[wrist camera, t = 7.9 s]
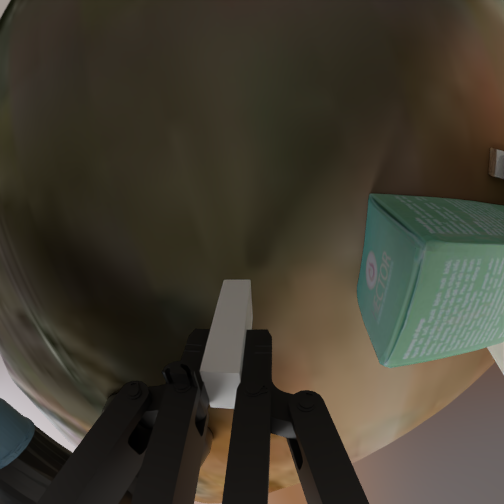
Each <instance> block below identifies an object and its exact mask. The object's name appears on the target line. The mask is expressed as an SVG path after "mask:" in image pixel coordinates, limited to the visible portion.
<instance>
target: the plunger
mask: <svg viewBox="0 0 504 504" xmlns="http://www.w3.org/2000/svg"><path fill="white" fill-rule="evenodd" d="M487 348H488V350H489V351H490V353H491V355H492V356H493V358H494V359H495V361H496V363H497V364H498V366H499V368H500V370H501V371H502V373H503V375H504V342H502V343H499V344H496V345H492V346H489V347H487Z"/></svg>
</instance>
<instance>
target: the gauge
mask: <svg viewBox="0 0 504 504" xmlns="http://www.w3.org/2000/svg"><path fill="white" fill-rule="evenodd" d="M488 174H489V175H491V176H494V177H497V178H501V179H504V151H501V150H498V149H494V148H491V147H490V160H489V171H488Z"/></svg>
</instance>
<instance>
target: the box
mask: <svg viewBox="0 0 504 504" xmlns="http://www.w3.org/2000/svg"><path fill="white" fill-rule="evenodd" d="M357 298H358V304H359V307H360V311H361V314H362V318H363V321H364V324H365V326H366V329H367V332H368V334H369V337H370V340H371V342H372V345H373V347H374V350H375V352H376V355H377V357H378V360H379V363H380V364H382V365H383V366H386V367H389V368H393V367H399V366H404V365H410V364H416V363H421V362H427V361H432V360H436V359H441V358H445V357H450V356H454V355H459V354H463V353H467V352H471V351H475V350H479V349H482V348H486V347H489V346H492V345H496V344H499V343H502V342H504V206H503V205H496V204H489V203H483V202H477V201H470V200H460V199H450V198H438V197H424V196H407V195H393V194H370V195H369V199H368V212H367V221H366V231H365V240H364V248H363V255H362V262H361V269H360V274H359V279H358V284H357Z"/></svg>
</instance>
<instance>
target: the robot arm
mask: <svg viewBox="0 0 504 504" xmlns="http://www.w3.org/2000/svg"><path fill="white" fill-rule="evenodd" d="M252 321H253V313H252V297H251V280H224V281H223V284H222V288H221V292H220V295H219V299H218V303H217V306H216V310H215V314H214V318H213V321H212V325H211V329H195V330H194V331H193V332H192V333H191V334H190V335H189V337H188V340H187V343H186V344H187V345H186V346H185V349H184V352H183V355H182V358H181V361H176V362H172V363H170V364H168V365H167V366H165V367H164V369H163V370H162V374H163V376H164V378H165V380H166V384H164V385H160V386H153V387H147V385H146V384H144V383H143V382H140V381H131V382H129V383H127V384H125V385H124V386H123V387H122V388H121V390H120V391H119V392H118V394H115V395H112V396H110V397H109V398H108V399H107V402H106V404H105V406H104V408H103V410H102V414H101V416H100V417H99V418H98V420H97V421H96V422H95V424H94V425H93V426H92V428H91V429H90V430H89V432H88V433H87V434H86V436H85V437H84V438H83V440H82V441H81V443H80V444H79V445H78V447H77V448H76V449H75V451H74V452H73V453H72V452H71V451H69V450H68V449H66V448H64V447H63V446H62V445H60V444H59V443H57V442H56V441H55V440H53V439H52V438H51V437H49V436H48V435H47V434H45V433H44V432H43V431H41V430H40V429H39V428H38V427H36V426H35V425H34V423H33V422H32V421H31V420H30V419H29V418H27V417H24V416H23V415H21V414H20V413H19V412H18V411H16V410H15V409H14V408H13V407H12V406H11V405H9V404H8V403H7V402H6V401H5V400H3V399H1V398H0V504H194V499H195V493H196V488H197V482H198V476H199V471H200V467H201V466H202V464H203V462H204V461H205V459H206V458H207V456H208V454H209V453H210V450H211V445H212V439H213V435H212V432H211V431H210V429H209V428H208V427H207V426H208V421H209V413H208V405H209V403H210V406H211V407H213V408H227V409H234V414H233V422H232V430H231V438H230V445H229V453H228V461H227V469H226V477H225V484H224V492H223V500H222V504H268V488H269V464H270V434H271V433H272V434H276V435H279V436H283V437H286V438H287V442H288V445H289V448H290V451H291V454H292V457H293V461H294V464H295V467H296V470H297V473H298V476H299V479H300V482H301V485H302V488H303V491H304V494H305V497H306V500H307V503H308V504H369V502H368V500H367V498H366V495H365V493H364V491H363V489H362V486H361V484H360V482H359V479H358V477H357V475H356V473H355V471H354V468H353V466H352V463H351V461H350V459H349V457H348V454H347V452H346V450H345V448H344V445H343V443H342V441H341V439H340V436H339V434H338V432H337V429H336V427H335V425H334V423H333V420H332V418H331V416H330V414H329V411H328V409H327V407H326V405H325V402H324V400H323V399H322V397H321V396H320V395H319V394H317V393H316V392H313V391H309V390H306V391H300V392H297V393H295V394H290V393H286V392H283V391H281V390H279V389H277V388H276V387H275V386H274V384H273V382H272V336H271V335H270V333H269V331H268V330H267V329H266V330H252Z"/></svg>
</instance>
